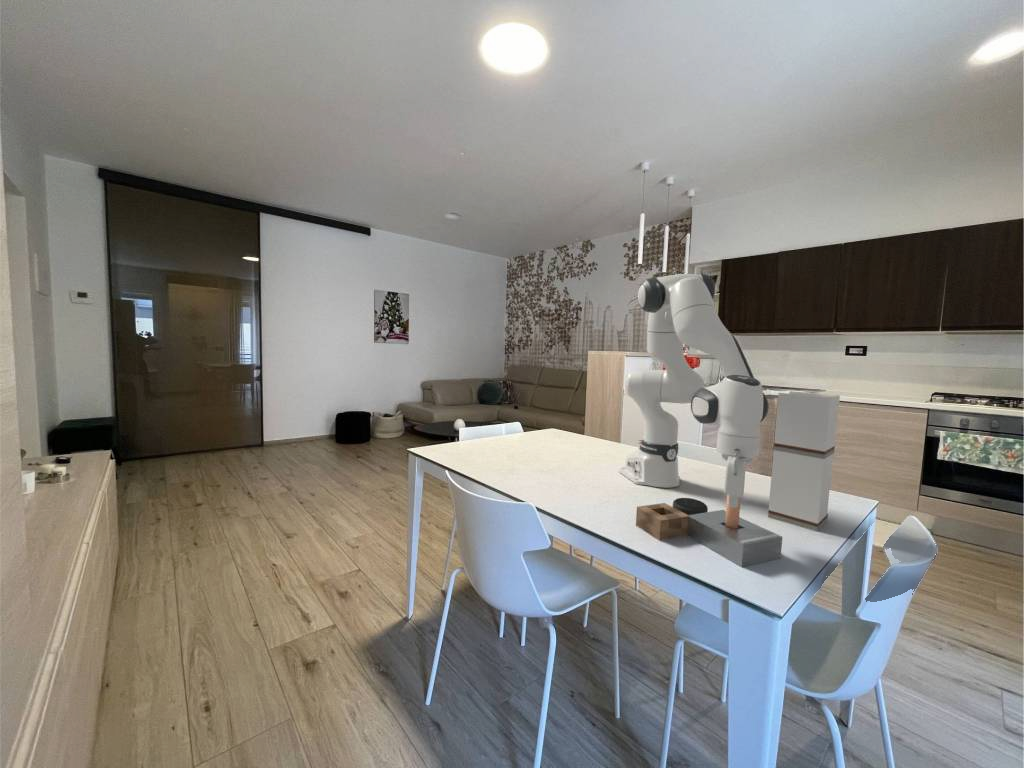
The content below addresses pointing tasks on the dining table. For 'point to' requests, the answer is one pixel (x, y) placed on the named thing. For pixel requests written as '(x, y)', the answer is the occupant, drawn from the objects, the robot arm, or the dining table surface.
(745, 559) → the dock
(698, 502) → the smart speaker
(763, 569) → the dining table surface
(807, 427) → the white tall box
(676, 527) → the mount
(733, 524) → the pin
